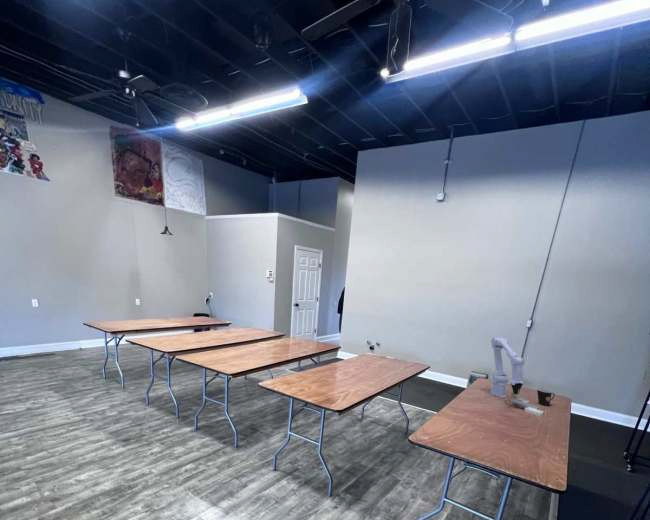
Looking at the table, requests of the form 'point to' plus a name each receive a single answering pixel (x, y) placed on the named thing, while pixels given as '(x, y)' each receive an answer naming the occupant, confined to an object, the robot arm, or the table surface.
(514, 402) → the mat
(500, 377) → the robot arm
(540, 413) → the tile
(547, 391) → the coffee mug
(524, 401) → the turner
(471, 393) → the table surface
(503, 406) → the table surface
